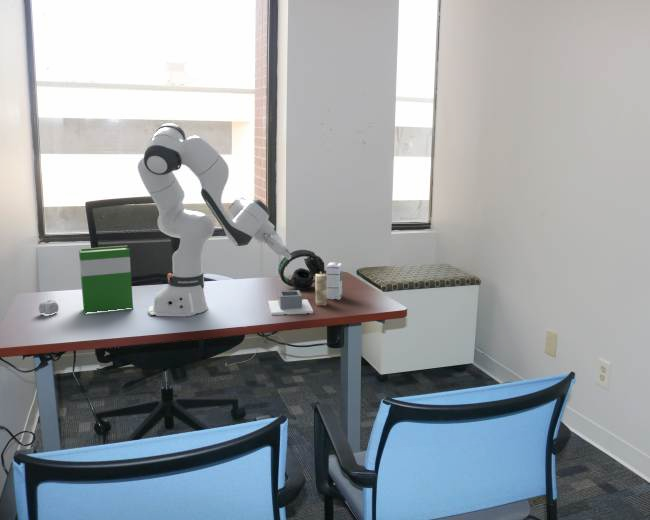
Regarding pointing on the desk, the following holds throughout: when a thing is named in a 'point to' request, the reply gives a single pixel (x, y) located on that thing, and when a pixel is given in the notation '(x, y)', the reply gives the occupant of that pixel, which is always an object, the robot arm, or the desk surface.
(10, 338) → the desk surface
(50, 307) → the die
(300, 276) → the headset
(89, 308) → the hardback book
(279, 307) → the socket
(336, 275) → the syrup box
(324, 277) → the peg
